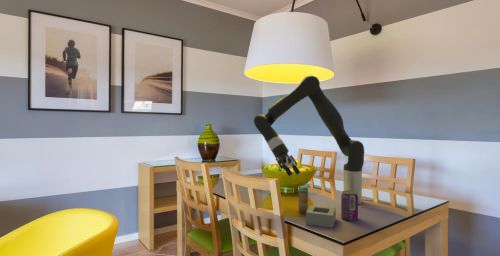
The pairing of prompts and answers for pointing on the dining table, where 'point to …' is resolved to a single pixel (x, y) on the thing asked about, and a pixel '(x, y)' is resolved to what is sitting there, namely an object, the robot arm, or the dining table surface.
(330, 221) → the socket block
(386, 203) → the dining table surface
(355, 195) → the beverage can
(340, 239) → the dining table surface
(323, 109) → the robot arm
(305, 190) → the green capped wooden peg
